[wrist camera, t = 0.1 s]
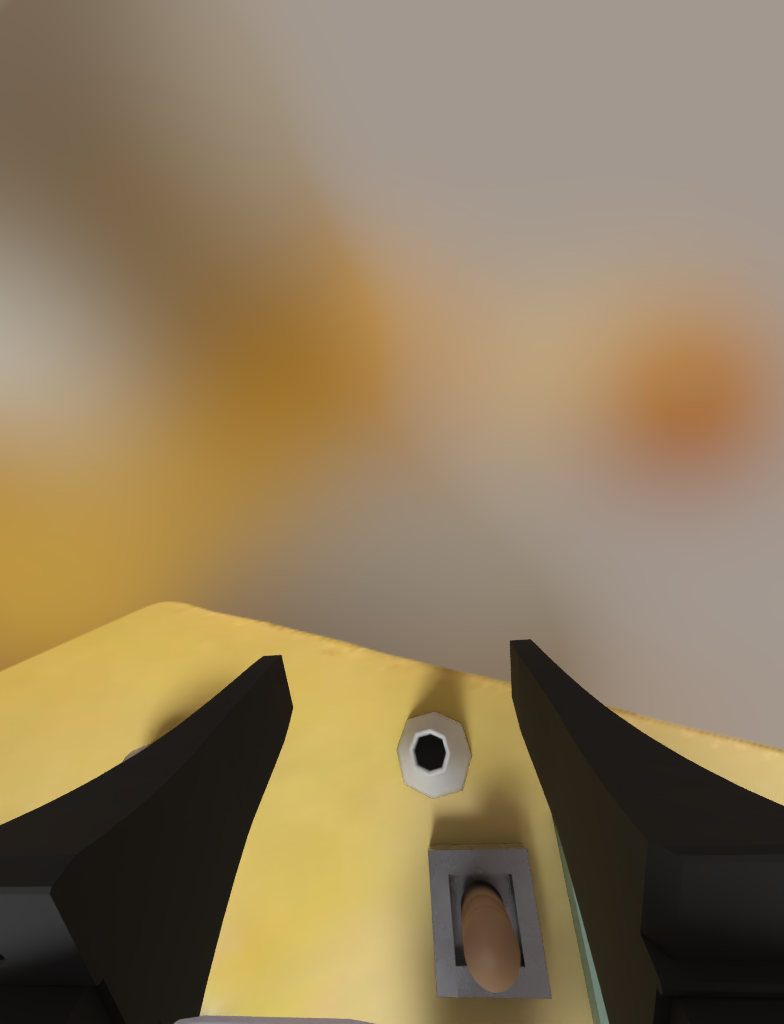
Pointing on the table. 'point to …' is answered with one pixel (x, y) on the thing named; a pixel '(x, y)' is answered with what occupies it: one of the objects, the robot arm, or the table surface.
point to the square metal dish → (514, 884)
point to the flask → (434, 755)
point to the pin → (489, 938)
